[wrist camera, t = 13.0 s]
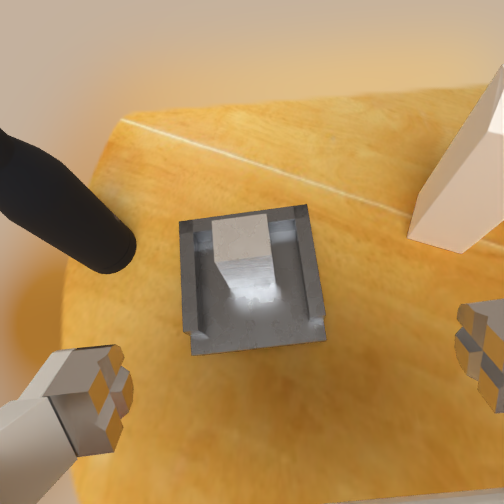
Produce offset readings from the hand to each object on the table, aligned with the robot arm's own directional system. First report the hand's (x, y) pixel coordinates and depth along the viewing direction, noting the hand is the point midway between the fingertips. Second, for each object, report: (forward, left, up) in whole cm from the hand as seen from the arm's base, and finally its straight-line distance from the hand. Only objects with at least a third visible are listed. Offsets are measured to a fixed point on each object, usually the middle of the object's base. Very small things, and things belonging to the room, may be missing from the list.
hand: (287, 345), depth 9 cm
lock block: (-4, -12, -30) cm, 33 cm away
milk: (-24, -3, -32) cm, 40 cm away
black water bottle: (+8, -24, -32) cm, 41 cm away
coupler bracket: (-3, -10, -31) cm, 33 cm away
